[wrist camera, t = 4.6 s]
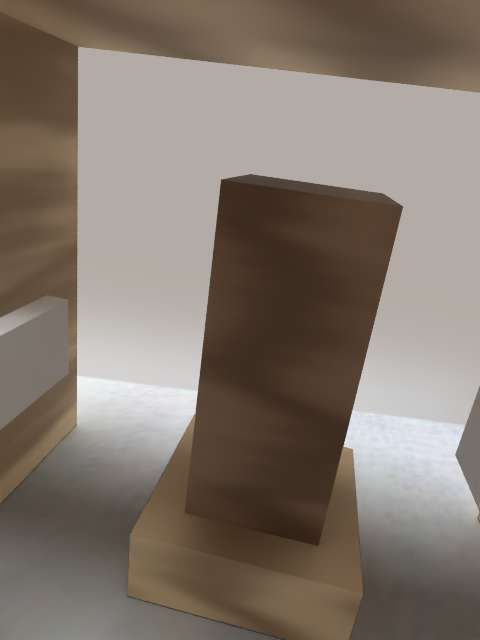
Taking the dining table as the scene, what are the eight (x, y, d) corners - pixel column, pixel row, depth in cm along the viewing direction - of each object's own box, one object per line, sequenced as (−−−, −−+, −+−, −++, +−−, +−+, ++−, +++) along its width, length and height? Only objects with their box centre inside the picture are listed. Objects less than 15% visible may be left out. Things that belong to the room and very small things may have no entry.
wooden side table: (508, 523, 23) (713, 49, 16) (627, 767, 14) (1264, -109, 6) (52, 419, 26) (44, -15, 19) (-99, 559, 17) (-231, -182, 10)
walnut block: (321, 460, 21) (383, 193, 17) (318, 546, 16) (403, 206, 12) (215, 437, 22) (250, 174, 17) (184, 512, 17) (221, 179, 13)
